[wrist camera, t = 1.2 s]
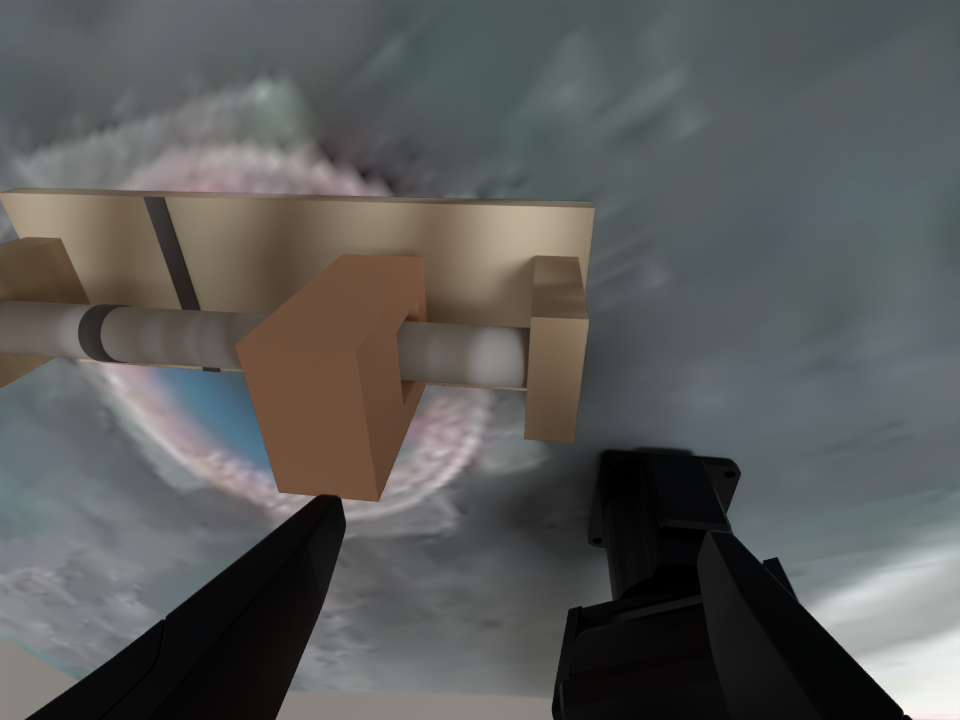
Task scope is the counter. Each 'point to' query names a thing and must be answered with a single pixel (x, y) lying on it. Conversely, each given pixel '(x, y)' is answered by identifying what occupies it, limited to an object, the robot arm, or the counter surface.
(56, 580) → the counter surface
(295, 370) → the brown block with hole
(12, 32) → the counter surface
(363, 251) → the pipe stand
